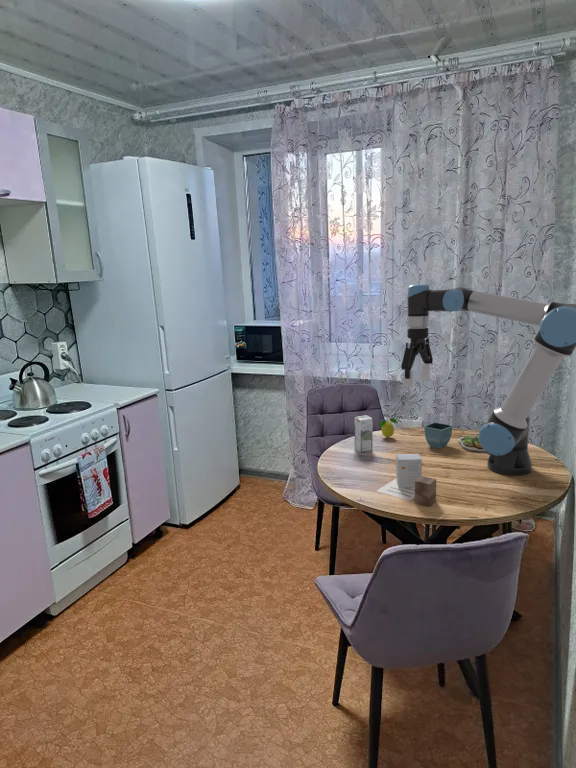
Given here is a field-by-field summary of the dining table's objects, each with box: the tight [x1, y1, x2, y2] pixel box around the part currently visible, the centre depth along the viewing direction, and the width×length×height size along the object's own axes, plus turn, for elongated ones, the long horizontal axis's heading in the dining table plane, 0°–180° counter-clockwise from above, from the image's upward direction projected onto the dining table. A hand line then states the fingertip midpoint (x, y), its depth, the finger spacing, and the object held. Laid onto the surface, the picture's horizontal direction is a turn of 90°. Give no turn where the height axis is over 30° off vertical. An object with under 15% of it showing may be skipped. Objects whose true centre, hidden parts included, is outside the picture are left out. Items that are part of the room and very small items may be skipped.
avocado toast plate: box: [458, 433, 488, 453], centre depth 213 cm, size 19×18×5 cm
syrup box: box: [354, 414, 374, 454], centre depth 214 cm, size 6×6×14 cm
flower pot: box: [423, 422, 454, 449], centre depth 215 cm, size 9×9×9 cm
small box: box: [395, 453, 423, 488], centre depth 177 cm, size 8×6×10 cm
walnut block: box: [414, 475, 437, 508], centre depth 163 cm, size 5×5×8 cm
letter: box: [376, 477, 415, 502], centre depth 176 cm, size 13×16×1 cm
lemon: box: [378, 416, 398, 439], centre depth 229 cm, size 7×6×10 cm
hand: (417, 383), depth 192 cm, fingers open, 13 cm apart
